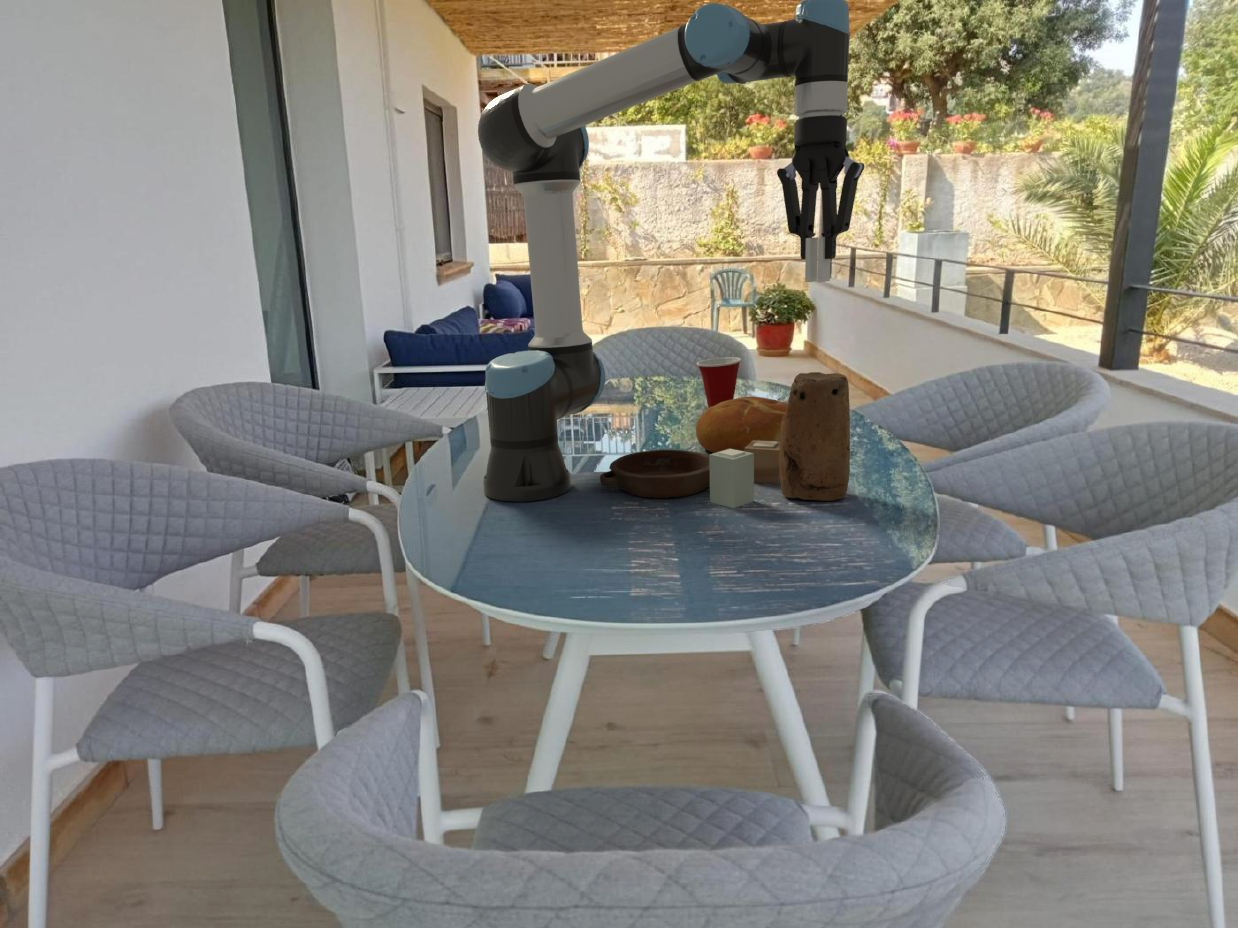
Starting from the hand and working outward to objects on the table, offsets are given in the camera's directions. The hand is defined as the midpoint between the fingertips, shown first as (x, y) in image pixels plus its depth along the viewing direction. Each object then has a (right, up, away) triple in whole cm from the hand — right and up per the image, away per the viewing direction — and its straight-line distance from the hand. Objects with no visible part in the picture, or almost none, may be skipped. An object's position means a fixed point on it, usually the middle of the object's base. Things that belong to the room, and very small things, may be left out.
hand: (817, 281), depth 134 cm
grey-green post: (-12, -34, +8) cm, 37 cm away
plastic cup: (-6, -14, +81) cm, 83 cm away
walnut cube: (-5, -30, +21) cm, 37 cm away
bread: (-3, -25, +42) cm, 49 cm away
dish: (-23, -32, +17) cm, 43 cm away
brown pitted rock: (+1, -33, +9) cm, 35 cm away
